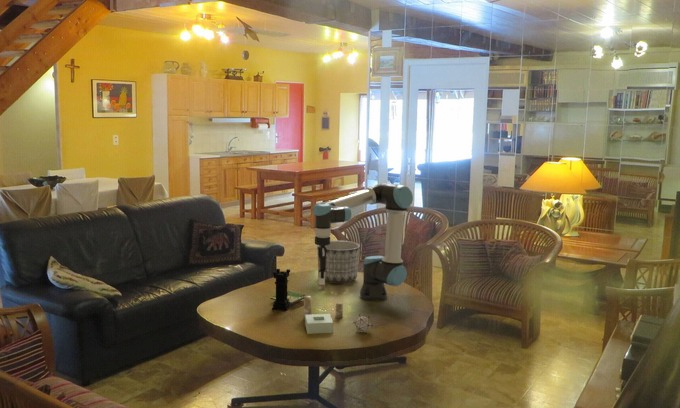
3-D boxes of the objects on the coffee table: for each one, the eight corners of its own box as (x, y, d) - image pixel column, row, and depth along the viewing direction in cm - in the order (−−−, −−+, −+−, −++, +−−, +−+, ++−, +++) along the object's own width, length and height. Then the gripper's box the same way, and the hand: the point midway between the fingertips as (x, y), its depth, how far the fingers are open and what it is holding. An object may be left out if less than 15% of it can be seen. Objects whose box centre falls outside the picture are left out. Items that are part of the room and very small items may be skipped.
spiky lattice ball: (358, 339, 279) (351, 319, 283) (375, 332, 279) (368, 312, 283) (357, 336, 271) (349, 315, 274) (374, 329, 271) (367, 309, 275)
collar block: (329, 323, 288) (329, 313, 287) (333, 332, 276) (333, 322, 276) (305, 324, 286) (305, 314, 286) (307, 333, 275) (307, 323, 274)
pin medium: (310, 316, 297) (310, 295, 296) (311, 319, 294) (311, 297, 292) (303, 316, 297) (303, 295, 295) (304, 319, 293) (304, 298, 292)
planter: (312, 284, 352) (313, 248, 349) (321, 273, 377) (321, 239, 374) (355, 287, 348) (356, 251, 344) (361, 275, 373) (362, 241, 370)
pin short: (341, 315, 300) (342, 302, 299) (343, 317, 296) (343, 304, 295) (335, 315, 299) (335, 302, 298) (336, 318, 296) (336, 304, 295)
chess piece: (286, 310, 306) (286, 273, 302) (271, 309, 307) (271, 272, 304) (291, 305, 313) (291, 269, 310) (276, 304, 315) (276, 268, 312)
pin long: (324, 289, 291) (325, 257, 289) (325, 291, 288) (326, 259, 286) (317, 289, 291) (317, 257, 289) (317, 291, 287) (318, 259, 285)
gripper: (313, 232, 293) (312, 278, 297) (316, 239, 277) (315, 288, 280) (328, 232, 294) (327, 278, 298) (332, 239, 278) (331, 287, 281)
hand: (321, 283), depth 289 cm, fingers closed on pin long, 3 cm apart
